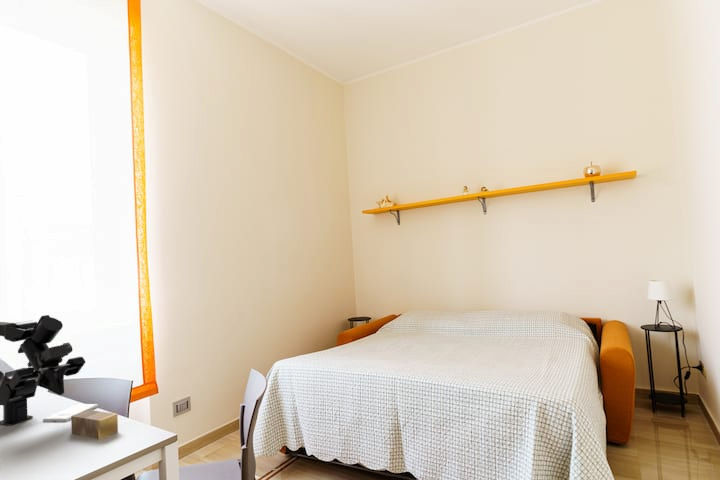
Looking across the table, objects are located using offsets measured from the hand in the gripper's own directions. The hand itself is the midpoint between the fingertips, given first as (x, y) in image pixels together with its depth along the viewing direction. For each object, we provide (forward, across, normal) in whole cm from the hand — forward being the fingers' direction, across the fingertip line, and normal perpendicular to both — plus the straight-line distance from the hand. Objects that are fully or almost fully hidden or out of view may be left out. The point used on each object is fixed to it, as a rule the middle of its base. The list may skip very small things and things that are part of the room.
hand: (62, 393), depth 122 cm
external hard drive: (+1, +9, +14) cm, 16 cm away
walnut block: (+11, 0, -1) cm, 11 cm away
